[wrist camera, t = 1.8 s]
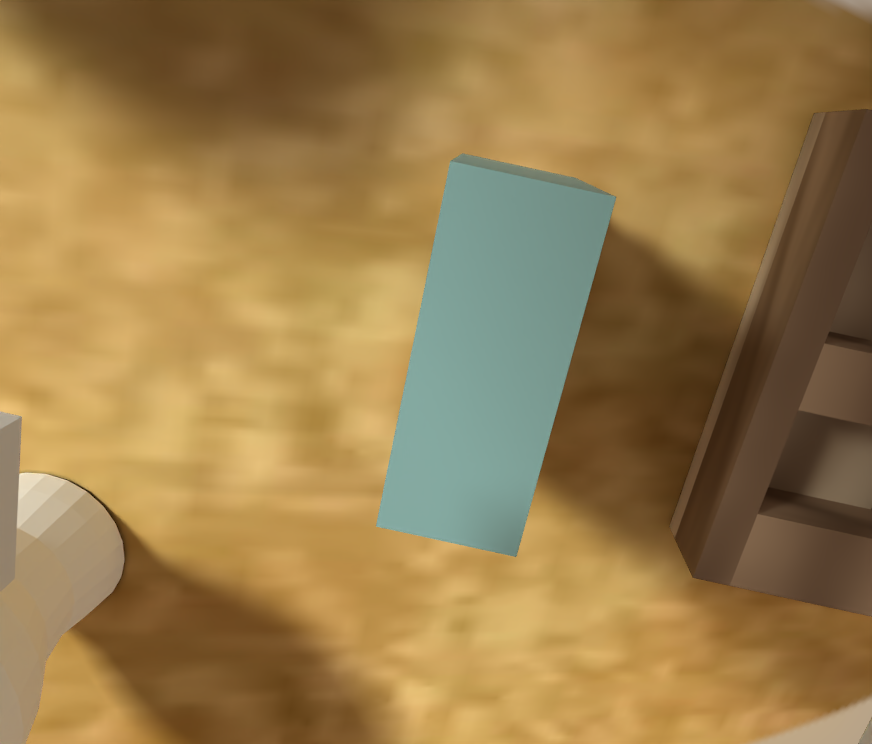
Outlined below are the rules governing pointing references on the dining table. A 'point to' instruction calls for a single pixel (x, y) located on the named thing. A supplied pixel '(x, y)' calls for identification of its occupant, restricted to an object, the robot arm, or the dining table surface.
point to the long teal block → (491, 350)
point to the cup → (50, 587)
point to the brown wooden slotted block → (797, 397)
